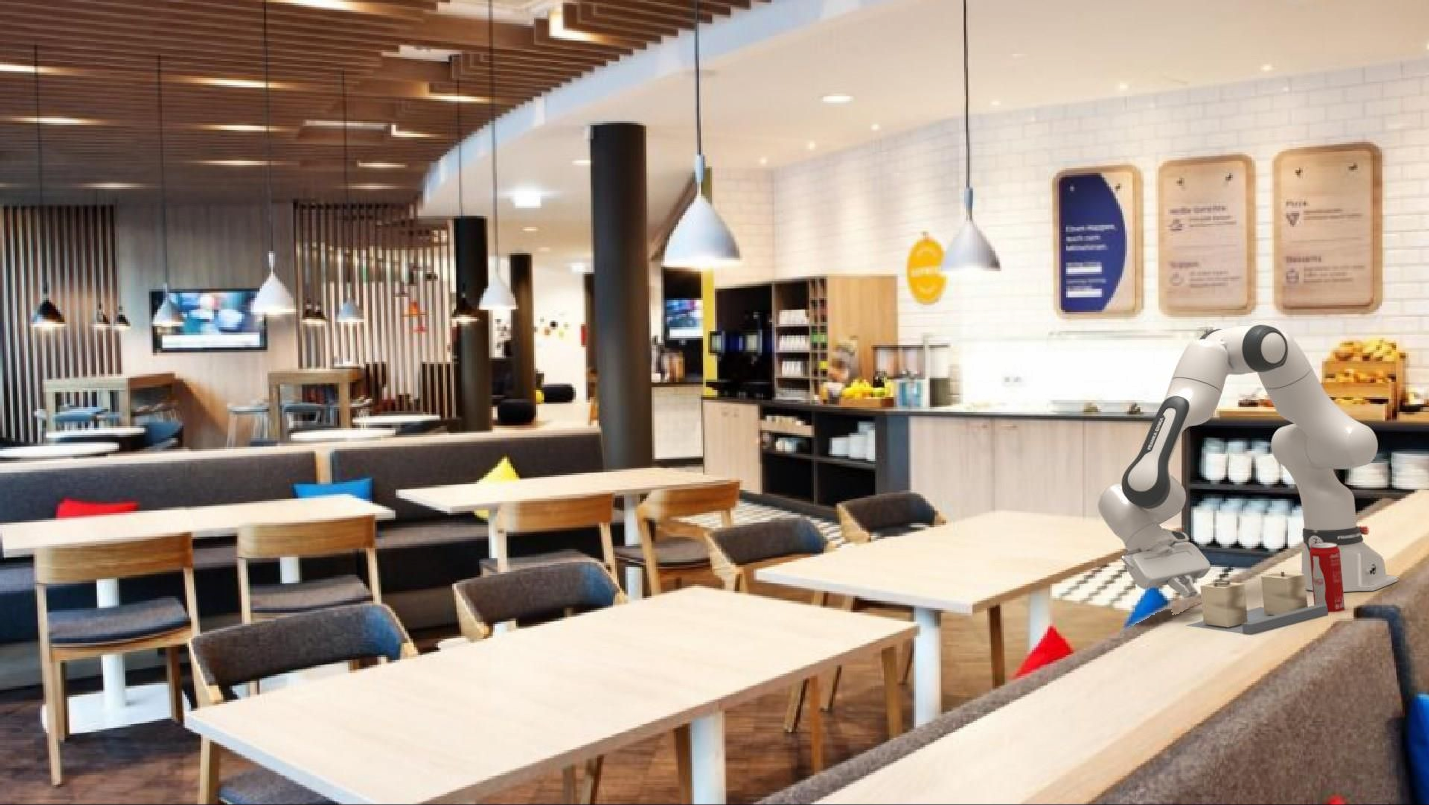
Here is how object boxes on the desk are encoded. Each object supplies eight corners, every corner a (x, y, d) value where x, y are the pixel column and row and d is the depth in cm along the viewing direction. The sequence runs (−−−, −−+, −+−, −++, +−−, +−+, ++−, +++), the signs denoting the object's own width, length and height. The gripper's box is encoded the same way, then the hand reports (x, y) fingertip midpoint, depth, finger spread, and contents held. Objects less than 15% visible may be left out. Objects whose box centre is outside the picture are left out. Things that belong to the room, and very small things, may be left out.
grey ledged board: (1261, 611, 266) (1259, 597, 266) (1328, 619, 252) (1327, 605, 252) (1186, 630, 255) (1184, 615, 255) (1252, 639, 241) (1250, 624, 241)
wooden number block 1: (1282, 609, 260) (1279, 570, 260) (1308, 612, 255) (1304, 572, 255) (1264, 613, 258) (1260, 574, 258) (1289, 617, 252) (1286, 576, 252)
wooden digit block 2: (1223, 619, 256) (1219, 579, 256) (1247, 622, 251) (1244, 581, 251) (1203, 624, 253) (1200, 583, 253) (1228, 627, 248) (1224, 586, 248)
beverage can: (1338, 610, 260) (1332, 540, 260) (1351, 616, 254) (1344, 544, 254) (1309, 612, 261) (1303, 543, 261) (1321, 618, 254) (1315, 546, 254)
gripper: (1124, 543, 260) (1165, 593, 252) (1190, 531, 270) (1231, 579, 262) (1110, 562, 264) (1150, 612, 256) (1175, 550, 274) (1215, 598, 266)
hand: (1191, 595), depth 259 cm, fingers closed
